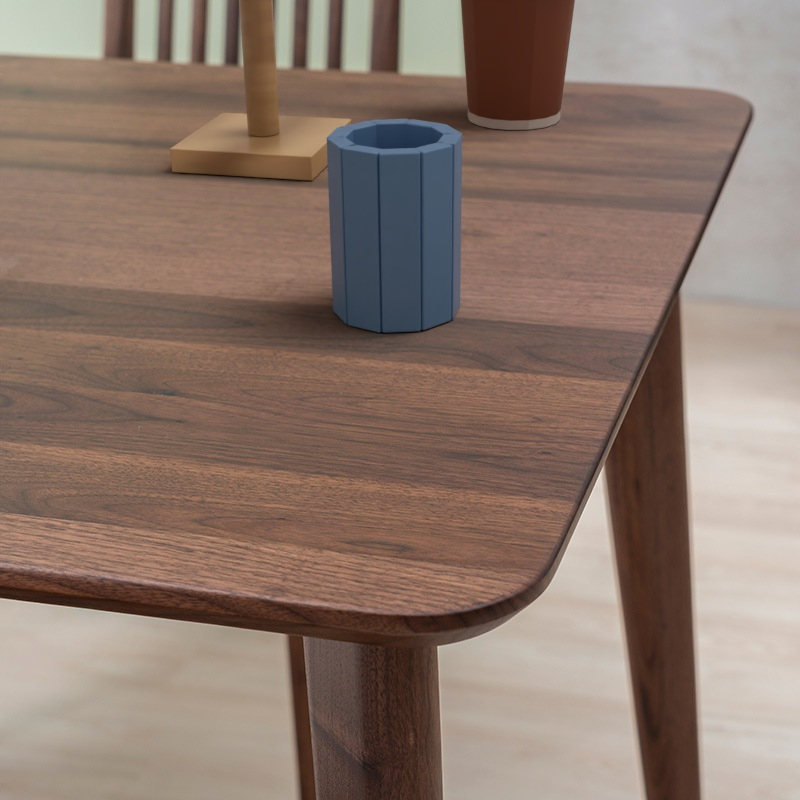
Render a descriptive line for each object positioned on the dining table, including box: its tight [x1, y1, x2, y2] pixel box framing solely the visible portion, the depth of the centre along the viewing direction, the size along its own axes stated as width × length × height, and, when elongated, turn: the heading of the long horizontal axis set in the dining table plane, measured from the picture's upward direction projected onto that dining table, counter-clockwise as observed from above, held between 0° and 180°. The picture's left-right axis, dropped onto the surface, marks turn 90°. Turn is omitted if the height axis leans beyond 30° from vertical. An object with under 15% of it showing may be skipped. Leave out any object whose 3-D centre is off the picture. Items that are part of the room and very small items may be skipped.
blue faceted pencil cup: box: [327, 118, 463, 334], centre depth 56 cm, size 6×6×8 cm
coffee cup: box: [460, 0, 576, 131], centre depth 85 cm, size 9×9×12 cm
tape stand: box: [169, 0, 352, 182], centre depth 78 cm, size 9×9×10 cm
